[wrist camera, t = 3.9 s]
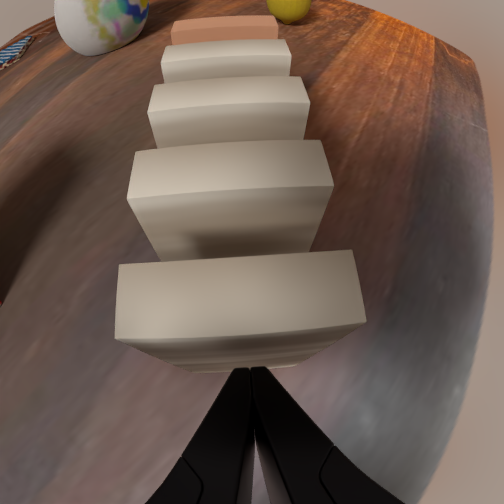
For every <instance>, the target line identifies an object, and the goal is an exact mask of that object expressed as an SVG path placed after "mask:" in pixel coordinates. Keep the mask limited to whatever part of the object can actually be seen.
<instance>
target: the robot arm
mask: <svg viewBox="0 0 504 504" xmlns="http://www.w3.org/2000/svg"><path fill="white" fill-rule="evenodd" d="M254 430H255V432H254ZM255 440H256V446H257V451H258V455H259V459H260V463H261V467H262V471H263V475H264V479H265V483H266V487H267V491H268V495H269V499H270V503H271V504H405V503H404V502H402V501H401V500H399V499H398V498H397V497H395V496H394V495H392V494H391V493H390V492H388V491H387V490H385V489H384V488H383V487H381V486H380V485H379V484H377V483H376V482H375V481H373V480H372V479H371V478H370V477H368V476H367V475H366V474H365V473H363V472H362V471H361V470H360V469H359V468H357V467H356V466H355V465H354V464H353V463H352V462H351V461H350V460H349V459H348V458H347V457H346V456H345V455H344V454H343V453H342V452H341V451H340V450H339V449H338V447H337V446H334V443H333V442H332V441H331V440H330V439H329V438H328V437H327V436H326V435H325V434H324V433H323V431H322V430H321V429H320V428H319V427H318V426H317V425H316V424H315V423H314V421H313V420H312V419H311V418H310V417H309V416H308V415H307V414H306V413H305V411H304V410H303V409H302V408H301V407H300V406H299V405H298V403H297V402H296V401H295V400H294V399H293V398H292V397H291V395H290V394H289V393H288V392H287V391H286V390H285V388H284V387H283V386H282V385H281V384H280V383H279V381H278V380H277V379H276V378H275V377H274V375H273V374H272V373H271V372H270V371H269V370H268V368H267V367H266V366H255V367H251V368H250V369H249V368H248V367H239V368H234V369H233V370H232V372H231V374H230V376H229V377H228V379H227V381H226V382H225V384H224V386H223V388H222V389H221V391H220V393H219V394H218V396H217V398H216V399H215V401H214V403H213V404H212V406H211V408H210V409H209V411H208V413H207V414H206V416H205V418H204V419H203V421H202V423H201V424H200V426H199V428H198V429H197V431H196V432H195V434H194V436H193V437H192V439H191V441H190V442H189V444H188V445H187V447H186V449H185V450H184V452H183V453H182V457H180V458H179V459H178V461H177V463H176V464H175V466H174V467H173V469H172V470H171V472H170V473H169V475H168V476H167V477H166V479H165V480H164V482H163V483H162V484H161V485H160V487H159V488H158V489H157V490H156V491H155V493H154V494H153V495H152V496H151V497H150V499H149V500H148V501H147V502H146V503H145V504H251V500H252V485H253V470H254V455H255Z"/></svg>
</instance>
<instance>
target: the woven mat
mask: <svg viewBox="0 0 504 504" xmlns="http://www.w3.org/2000/svg"><path fill="white" fill-rule="evenodd" d="M33 40H34V38H32V36H27V37H26V38H25V39H23V40H22V39H21V40H20V41H19V42H18V43H14V44H13V45H12V46H8V47H7V48H6V49H3V50H2V51H1V52H0V70H1V69H3V68H5V67H6V66H9V65H10V64H12V63H14V62H16V61H18V60H19V59H18V58H20V57H21V55H23V54H24V52H25V50H26V48H27V47H28V46H29V45H30V44H31V43H32V41H33ZM22 53H23V54H22Z"/></svg>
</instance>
